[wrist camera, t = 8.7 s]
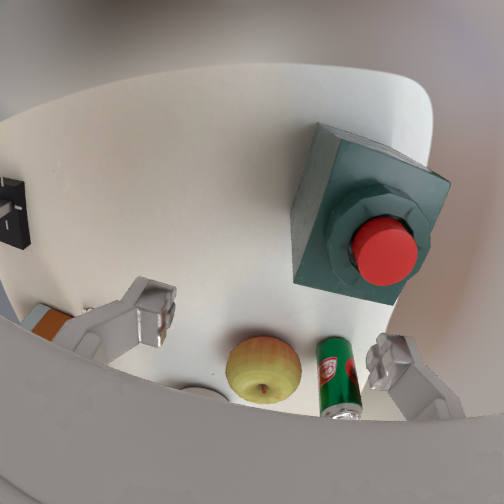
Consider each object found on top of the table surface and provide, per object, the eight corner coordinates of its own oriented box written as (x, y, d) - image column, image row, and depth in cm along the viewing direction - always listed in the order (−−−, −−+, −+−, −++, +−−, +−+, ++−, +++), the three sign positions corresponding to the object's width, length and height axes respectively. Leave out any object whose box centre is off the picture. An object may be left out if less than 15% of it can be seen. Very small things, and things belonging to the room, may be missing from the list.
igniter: (317, 122, 26) (347, 143, 14) (392, 148, 26) (465, 192, 14) (290, 215, 31) (293, 300, 19) (360, 235, 31) (399, 322, 19)
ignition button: (364, 208, 16) (372, 221, 14) (416, 225, 16) (427, 239, 14) (343, 262, 18) (348, 279, 16) (393, 275, 18) (401, 291, 16)
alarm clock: (92, 378, 51) (53, 458, 33) (58, 363, 51) (16, 436, 33) (77, 315, 42) (13, 411, 24) (39, 298, 42) (-27, 381, 24)
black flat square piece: (-13, 167, 31) (-23, 172, 29) (28, 175, 31) (18, 180, 29) (-6, 230, 36) (-14, 236, 34) (35, 245, 36) (27, 252, 35)
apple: (299, 323, 38) (301, 371, 31) (301, 369, 42) (302, 414, 35) (224, 326, 39) (213, 372, 32) (237, 371, 44) (230, 414, 37)
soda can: (326, 331, 38) (335, 407, 28) (357, 340, 39) (372, 412, 28) (309, 354, 41) (312, 427, 30) (339, 362, 41) (348, 432, 31)
